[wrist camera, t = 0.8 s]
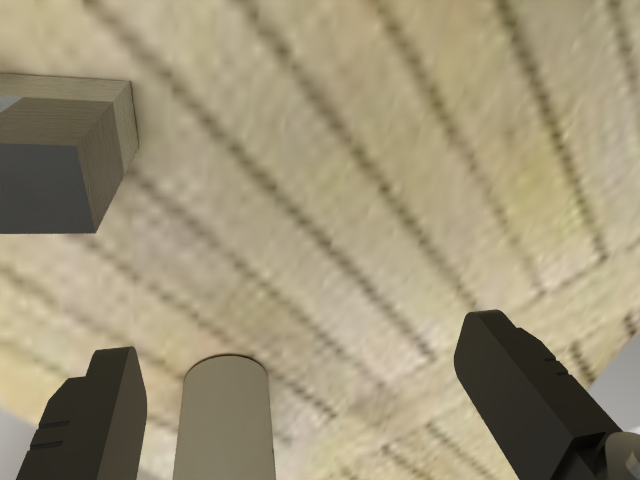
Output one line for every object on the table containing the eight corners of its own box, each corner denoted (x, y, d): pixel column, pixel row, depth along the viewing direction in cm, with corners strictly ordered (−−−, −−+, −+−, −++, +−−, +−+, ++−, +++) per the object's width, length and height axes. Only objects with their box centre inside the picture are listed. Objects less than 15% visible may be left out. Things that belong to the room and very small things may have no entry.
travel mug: (169, 395, 41) (133, 641, 26) (208, 342, 38) (192, 587, 23) (242, 413, 44) (246, 640, 30) (282, 366, 41) (310, 593, 27)
